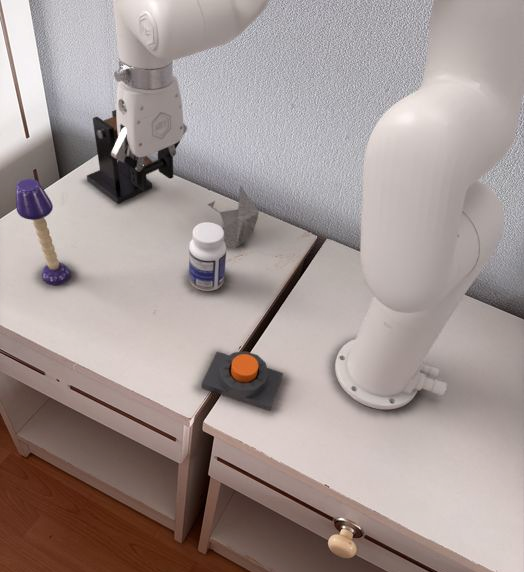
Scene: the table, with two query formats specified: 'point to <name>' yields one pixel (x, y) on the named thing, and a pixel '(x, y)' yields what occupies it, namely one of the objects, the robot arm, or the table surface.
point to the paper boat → (239, 221)
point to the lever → (148, 164)
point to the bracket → (112, 166)
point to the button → (244, 368)
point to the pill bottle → (207, 257)
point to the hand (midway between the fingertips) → (153, 179)
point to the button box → (252, 392)
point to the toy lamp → (40, 227)
